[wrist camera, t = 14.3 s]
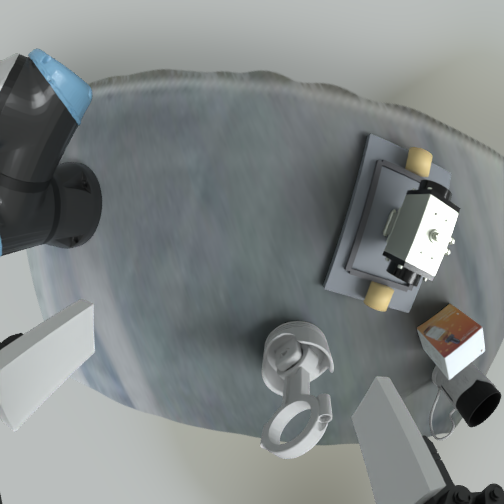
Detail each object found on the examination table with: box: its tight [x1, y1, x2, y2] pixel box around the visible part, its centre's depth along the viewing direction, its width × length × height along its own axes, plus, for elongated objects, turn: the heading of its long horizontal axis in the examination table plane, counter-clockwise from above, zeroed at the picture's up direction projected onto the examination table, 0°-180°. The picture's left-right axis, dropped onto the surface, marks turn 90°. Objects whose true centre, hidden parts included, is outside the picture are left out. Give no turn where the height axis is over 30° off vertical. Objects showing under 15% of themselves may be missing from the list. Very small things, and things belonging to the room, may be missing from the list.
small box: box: [417, 304, 485, 380], centre depth 33 cm, size 8×6×10 cm
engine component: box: [260, 321, 334, 459], centre depth 31 cm, size 11×20×10 cm
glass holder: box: [429, 362, 501, 440], centre depth 32 cm, size 9×14×15 cm, turn 136°
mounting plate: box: [323, 134, 452, 313], centre depth 33 cm, size 23×15×5 cm, turn 164°
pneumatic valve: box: [382, 180, 460, 287], centre depth 29 cm, size 6×12×12 cm, turn 158°
